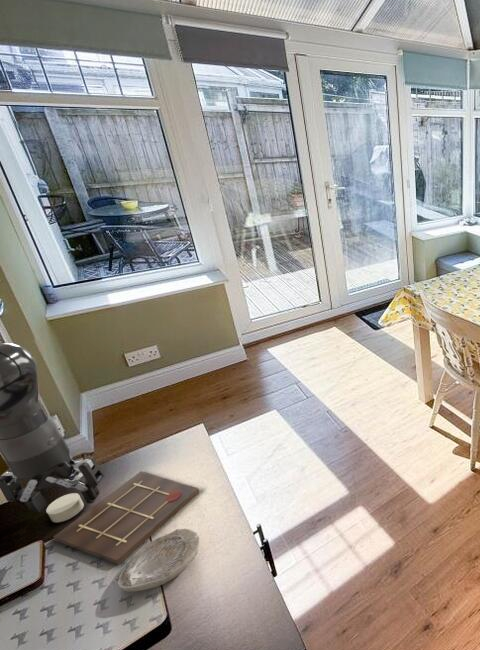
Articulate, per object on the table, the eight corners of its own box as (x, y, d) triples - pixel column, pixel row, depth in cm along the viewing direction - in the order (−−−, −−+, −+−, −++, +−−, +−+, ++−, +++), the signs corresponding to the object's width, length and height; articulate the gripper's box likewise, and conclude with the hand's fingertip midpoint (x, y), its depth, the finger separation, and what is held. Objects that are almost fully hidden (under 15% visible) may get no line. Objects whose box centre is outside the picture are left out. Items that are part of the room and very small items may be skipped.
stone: (44, 519, 82) (39, 510, 81) (73, 498, 87) (68, 490, 86) (62, 525, 81) (57, 516, 80) (90, 504, 86) (85, 496, 85)
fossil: (129, 561, 76) (123, 551, 75) (204, 529, 82) (200, 519, 81) (117, 613, 68) (110, 602, 67) (201, 573, 73) (196, 562, 72)
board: (55, 541, 78) (52, 536, 78) (142, 474, 93) (141, 470, 92) (119, 564, 75) (116, 559, 74) (199, 492, 89) (198, 487, 89)
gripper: (91, 423, 82) (120, 482, 89) (0, 437, 78) (37, 496, 85) (65, 452, 76) (99, 512, 82) (-35, 467, 72) (8, 530, 78)
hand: (67, 504), depth 84 cm, fingers open, 8 cm apart
